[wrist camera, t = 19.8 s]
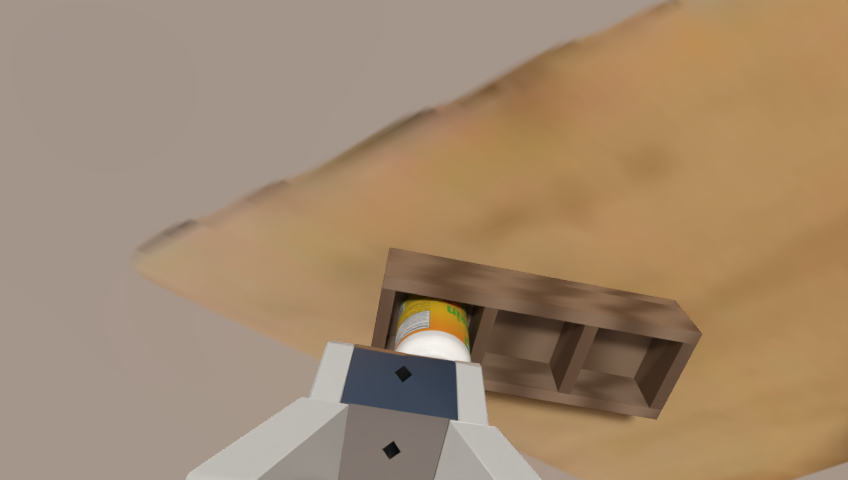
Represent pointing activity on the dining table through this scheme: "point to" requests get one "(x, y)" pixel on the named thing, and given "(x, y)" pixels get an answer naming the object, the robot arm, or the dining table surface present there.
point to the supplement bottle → (433, 328)
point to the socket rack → (551, 333)
